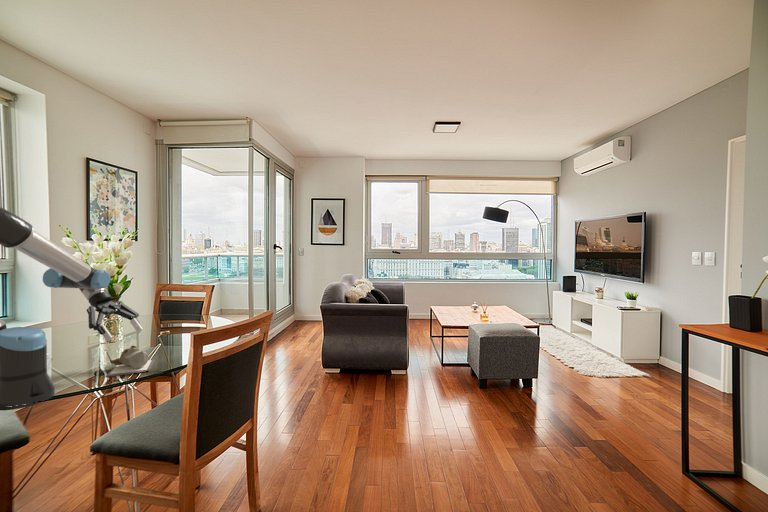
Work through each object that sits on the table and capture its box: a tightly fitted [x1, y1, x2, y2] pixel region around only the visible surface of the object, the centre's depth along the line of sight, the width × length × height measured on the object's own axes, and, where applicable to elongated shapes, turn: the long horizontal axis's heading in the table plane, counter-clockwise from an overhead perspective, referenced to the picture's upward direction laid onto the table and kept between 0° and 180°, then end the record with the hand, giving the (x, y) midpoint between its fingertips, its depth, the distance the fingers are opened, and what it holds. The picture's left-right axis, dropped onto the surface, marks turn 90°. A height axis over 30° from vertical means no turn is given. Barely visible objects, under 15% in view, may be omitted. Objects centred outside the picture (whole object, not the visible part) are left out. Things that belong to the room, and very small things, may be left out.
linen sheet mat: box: [105, 359, 155, 378], centre depth 151 cm, size 14×14×1 cm
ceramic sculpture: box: [109, 345, 149, 369], centre depth 151 cm, size 11×9×15 cm
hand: (126, 335), depth 152 cm, fingers open, 13 cm apart
